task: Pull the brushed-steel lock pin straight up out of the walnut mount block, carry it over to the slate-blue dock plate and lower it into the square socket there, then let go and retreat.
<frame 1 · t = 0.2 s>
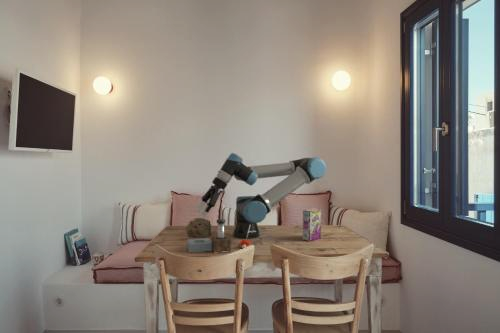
hand: (199, 214, 176), 16 cm above the table, tool tilted 35°, fingers open, 13 cm apart
rock: (199, 234, 204), on the table
candy bar box: (312, 239, 188), on the table
mount: (221, 250, 166), on the table
lock pin: (221, 235, 166), in the mount
dock: (199, 249, 168), on the table
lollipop: (247, 248, 171), on the table
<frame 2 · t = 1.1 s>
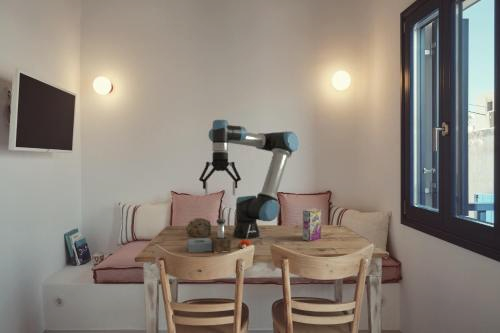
hand: (220, 195, 166), 27 cm above the table, tool pointing down, fingers open, 13 cm apart
nothing on the table moved.
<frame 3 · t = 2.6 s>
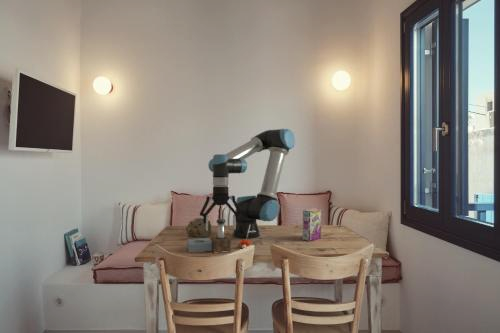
hand: (220, 229, 166), 10 cm above the table, tool pointing down, fingers open, 13 cm apart
nothing on the table moved.
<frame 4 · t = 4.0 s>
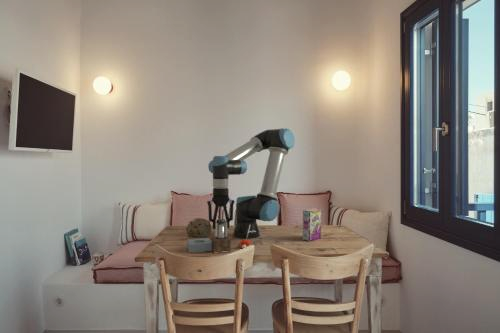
hand: (221, 235, 166), 7 cm above the table, tool pointing down, fingers closed on lock pin, 4 cm apart
lock pin: (221, 235, 166), in the mount, touching gripper
everything else where it was.
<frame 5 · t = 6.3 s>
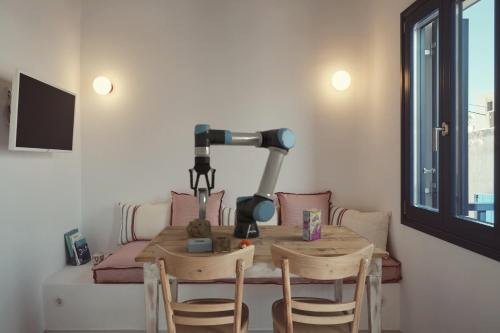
hand: (202, 203, 167), 23 cm above the table, tool pointing down, fingers closed on lock pin, 4 cm apart
lock pin: (202, 203, 167), point 23 cm above the table, touching gripper
everything else where it was.
when the fingers open (9 cm above the table, at t = 9.0 s): lock pin drops 1 cm, resting in dock.
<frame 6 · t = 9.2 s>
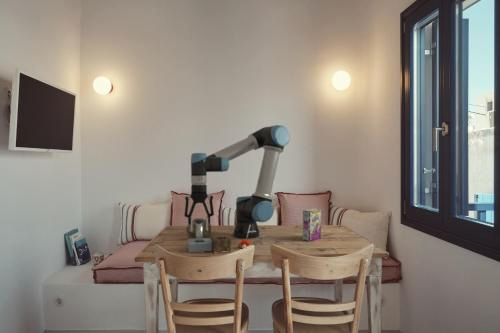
hand: (199, 230, 168), 9 cm above the table, tool pointing down, fingers open, 7 cm apart
lock pin: (199, 234, 168), in the dock
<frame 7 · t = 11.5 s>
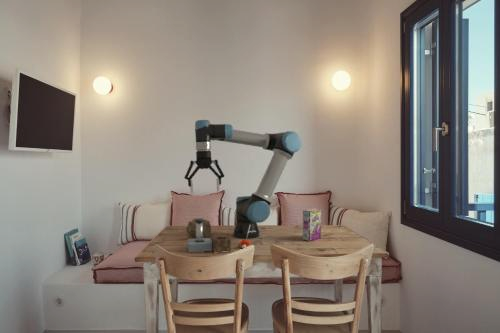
hand: (205, 192, 174), 28 cm above the table, tool pointing down, fingers open, 13 cm apart
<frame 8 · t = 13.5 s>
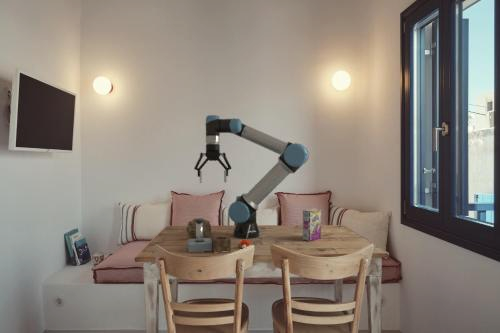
hand: (213, 182, 187), 32 cm above the table, tool pointing down, fingers open, 13 cm apart
at the end: lock pin 0.0 cm off-centre on the dock, point 7.5 cm above the dock's base; lock pin tilted 0°; the gripper is holding nothing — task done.
